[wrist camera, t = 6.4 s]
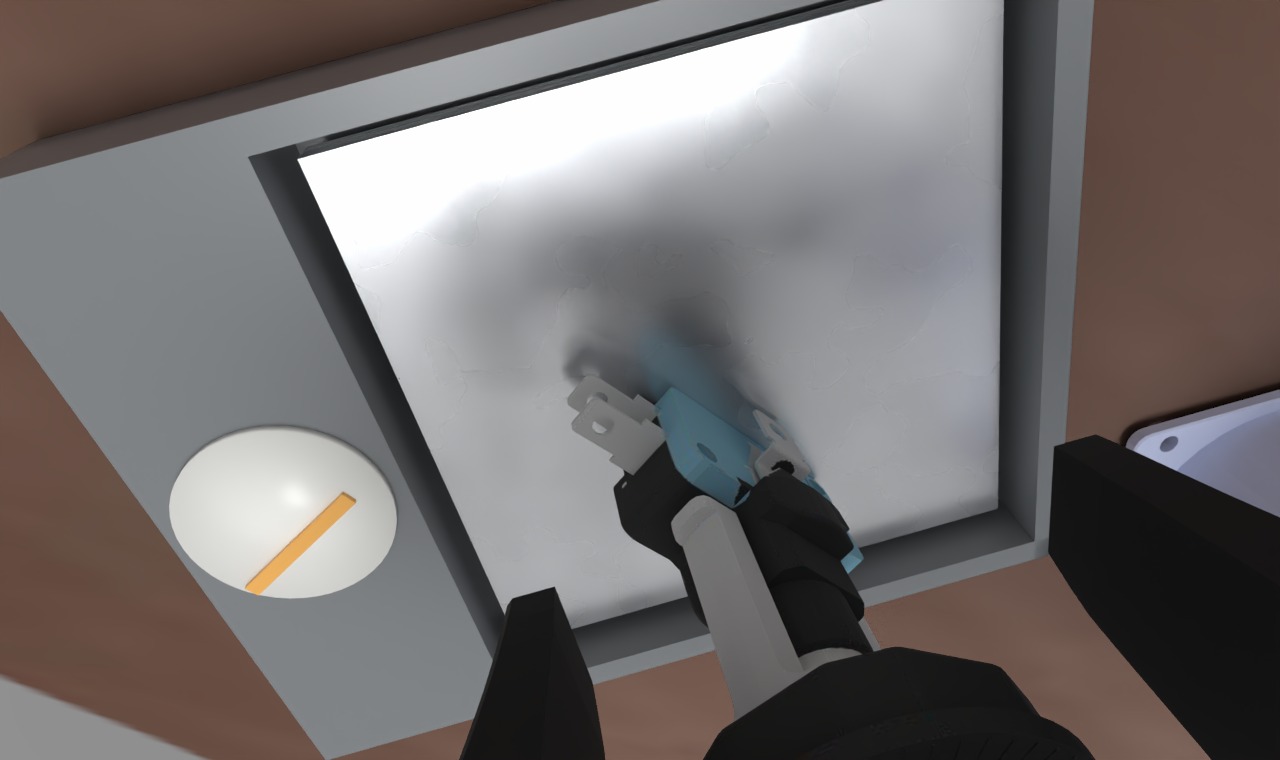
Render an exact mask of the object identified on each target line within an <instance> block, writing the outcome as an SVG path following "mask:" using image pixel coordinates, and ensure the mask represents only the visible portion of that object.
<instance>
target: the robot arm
mask: <svg viewBox="0 0 1280 760" xmlns="http://www.w3.org/2000/svg"><path fill="white" fill-rule="evenodd" d="M1048 553H1049V554H1050V556H1051V558H1052V559H1053V561H1054V562H1055V564H1056V566H1057V567H1058V569H1059V570H1060V572H1061V573H1062V575H1063V577H1064V578H1065V580H1066V581H1067V583H1068V584H1069V586H1070V588H1071V589H1072V591H1073V592H1074V593H1075V595H1076V596H1077V598H1078V599H1079V601H1080V602H1081V604H1082V605H1083V607H1084V608H1085V610H1086V611H1087V613H1088V614H1089V615H1090V617H1091V618H1092V619H1093V620H1094V622H1095V623H1096V624H1097V625H1098V626H1099V628H1100V629H1101V630H1102V631H1103V632H1104V634H1105V635H1106V636H1107V637H1108V638H1109V640H1110V641H1111V642H1112V643H1113V644H1114V646H1115V647H1116V648H1117V649H1118V650H1119V652H1120V653H1121V654H1122V655H1123V656H1124V657H1125V659H1126V660H1127V661H1128V662H1129V663H1130V665H1131V666H1132V667H1133V668H1134V669H1135V670H1136V672H1137V673H1138V674H1139V675H1140V676H1141V677H1142V679H1143V680H1144V681H1145V682H1146V683H1147V684H1148V686H1149V687H1150V688H1151V689H1152V690H1153V691H1154V693H1155V694H1156V695H1157V696H1158V697H1159V698H1160V700H1161V701H1162V702H1163V703H1164V704H1165V705H1166V707H1167V708H1168V709H1169V710H1170V711H1171V713H1172V714H1173V715H1174V716H1175V717H1176V718H1177V720H1178V721H1179V722H1180V723H1181V724H1182V725H1183V727H1184V728H1185V729H1186V730H1187V731H1188V732H1189V734H1190V735H1191V736H1192V737H1193V738H1194V739H1195V741H1196V742H1197V743H1198V744H1199V745H1200V746H1201V748H1202V749H1203V750H1204V751H1205V752H1206V753H1207V755H1208V756H1209V757H1210V758H1211V760H1280V389H1279V390H1276V391H1272V392H1269V393H1265V394H1262V395H1258V396H1255V397H1251V398H1247V399H1244V400H1240V401H1237V402H1233V403H1230V404H1226V405H1223V406H1219V407H1216V408H1212V409H1208V410H1205V411H1201V412H1198V413H1194V414H1191V415H1187V416H1184V417H1180V418H1177V419H1173V420H1169V421H1166V422H1162V423H1159V424H1155V425H1152V426H1148V427H1145V428H1142V429H1140V430H1137V431H1136V432H1135V433H1134V434H1132V435H1131V437H1130V438H1129V439H1128V441H1127V444H1126V447H1124V446H1121V445H1119V444H1117V443H1115V442H1112V441H1110V440H1108V439H1105V438H1103V437H1101V436H1098V435H1092V436H1089V437H1085V438H1082V439H1078V440H1074V441H1071V442H1067V443H1064V444H1060V445H1057V446H1054V453H1053V471H1052V489H1051V507H1050V525H1049V543H1048ZM459 760H605V752H604V746H603V740H602V734H601V728H600V722H599V716H598V711H597V705H596V699H595V694H594V688H593V682H592V679H591V677H590V674H589V672H588V669H587V666H586V664H585V661H584V659H583V656H582V654H581V651H580V649H579V646H578V644H577V641H576V639H575V636H574V634H573V631H572V629H571V626H570V624H569V621H568V618H567V616H566V613H565V611H564V608H563V606H562V603H561V601H560V598H559V596H558V593H557V591H556V588H555V586H554V587H551V588H547V589H544V590H540V591H537V592H533V593H530V594H526V595H522V596H519V597H515V598H512V600H511V601H510V603H509V604H508V605H507V608H506V612H505V617H504V621H503V625H502V629H501V633H500V637H499V640H498V644H497V648H496V651H495V655H494V658H493V662H492V665H491V668H490V671H489V675H488V678H487V681H486V684H485V688H484V691H483V694H482V697H481V700H480V702H479V705H478V708H477V711H476V714H475V717H474V720H473V723H472V726H471V729H470V731H469V734H468V737H467V740H466V743H465V746H464V748H463V751H462V754H461V756H460V759H459Z"/></svg>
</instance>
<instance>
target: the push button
mask: <svg viewBox="0 0 1280 760" xmlns="http://www.w3.org/2000/svg"><path fill="white" fill-rule="evenodd" d="M595 392H601V393H604V394H605V395H606V396H607V398H608V400H607V402H605V401H603V400H602V399H600V398H599V397H598V398H592V399H591V400H590V401H589V403H588V404H587V399H588V397H589V396H590V395H591V394H593V393H595ZM567 402H568V406H570V407H572V408H573V409H575V410H576V411H578V412H580V413H579V414H578V415H577V416H576V418H575V419H574V420H573V421H572V422H571V425H572V430H573V431H574V432H576V433H578V434H579V435H581V436H583V437H584V438H586V439H588V440H589V441H591V442H593V443H594V444H596V445H598V446H599V447H601V448H603V449H604V450H606V451H608V452H609V453H611V454H612V456H611V458H610V459H609V461H610V462H612V463H613V464H615V465H617V466H618V467H620V468H622V469H623V471H624V476H623V477H622V478H621V479H620V480H619V481H618V482H617V484H616V485H615V486H614V487H613V491H614V496H615V500H616V505H617V509H618V513H619V518H620V522H621V525H622V528H623V529H624V531H625V532H626V533H627V534H628V535H629V536H630V537H631V538H632V539H633V540H635V541H636V542H638V543H640V544H642V545H643V546H645V547H647V548H649V549H651V550H652V551H654V552H656V553H658V554H660V555H661V556H663V557H665V558H667V559H669V560H670V561H671V562H672V563H673V564H674V565H675V566H676V567H677V568H678V569H679V570H680V573H681V576H682V579H683V583H684V586H685V589H686V592H687V595H688V598H689V601H690V604H691V606H692V609H693V611H694V613H695V614H696V616H697V617H698V618H699V620H700V621H701V622H702V623H703V624H704V625H705V626H706V627H707V628H709V630H710V633H711V637H712V640H713V643H714V646H715V649H716V652H717V655H718V658H719V662H720V665H721V668H722V671H723V674H724V677H725V680H726V684H727V687H728V690H729V693H730V696H731V699H732V702H733V707H734V713H735V715H734V722H733V723H731V724H730V725H728V726H727V727H725V728H724V729H723V730H722V731H721V732H720V733H719V734H718V736H717V737H716V739H715V740H714V742H713V744H712V745H711V747H710V749H709V750H708V752H707V754H706V755H705V757H704V759H703V760H1095V758H1094V757H1093V756H1092V754H1091V753H1090V752H1089V750H1088V749H1087V748H1086V747H1085V745H1084V744H1083V743H1082V742H1081V741H1080V740H1079V738H1077V737H1076V736H1075V735H1074V734H1072V733H1071V732H1070V731H1069V730H1067V729H1066V728H1064V727H1062V726H1060V725H1059V724H1057V723H1055V722H1053V721H1051V720H1048V719H1046V718H1043V717H1040V715H1039V714H1038V713H1037V711H1036V710H1035V708H1034V707H1033V705H1032V704H1031V703H1030V701H1029V700H1028V699H1027V697H1026V696H1025V695H1024V694H1023V693H1022V691H1021V690H1020V689H1019V688H1018V687H1017V686H1016V684H1015V683H1014V682H1013V681H1012V680H1011V678H1010V677H1009V676H1008V675H1007V674H1006V672H1005V671H1004V670H1003V669H1001V668H1000V667H998V666H996V665H993V664H989V663H984V662H979V661H973V660H968V659H963V658H957V657H952V656H947V655H941V654H936V653H931V652H925V651H920V650H915V649H909V648H904V647H891V648H886V649H881V648H880V646H879V644H878V642H877V640H876V639H875V637H874V635H873V633H872V631H871V630H870V628H869V626H868V624H867V622H866V620H865V619H864V617H863V616H864V602H863V600H862V598H861V596H860V595H859V593H858V591H857V589H856V588H855V586H854V584H853V582H852V580H851V579H850V577H849V575H848V573H849V572H850V571H851V570H853V569H854V568H855V567H856V566H857V565H858V564H859V563H860V562H861V561H862V560H863V559H864V558H863V556H862V553H861V552H860V550H859V549H858V547H857V545H856V544H855V542H854V540H853V539H852V537H851V535H850V534H849V532H848V530H849V527H848V525H847V524H846V522H845V520H844V519H843V517H842V516H841V514H840V512H839V511H838V509H837V508H836V507H835V506H834V505H833V504H832V501H831V499H830V498H829V496H828V494H827V493H826V492H825V490H824V489H823V488H822V487H821V486H820V485H819V484H818V483H817V482H816V481H815V480H813V479H812V478H811V477H809V476H808V475H809V473H810V472H811V468H810V467H809V466H808V465H807V464H805V463H804V462H805V461H806V460H805V458H804V457H803V455H802V453H801V452H800V450H799V448H798V447H797V445H796V443H795V442H794V440H793V438H792V437H791V435H790V434H789V433H788V432H787V431H786V430H785V429H784V428H783V427H782V426H780V425H779V424H778V423H776V422H775V421H773V420H772V419H770V418H769V417H768V416H766V415H765V414H763V413H762V412H760V411H759V410H754V411H753V412H752V413H753V415H754V417H755V419H756V421H757V422H758V424H759V426H760V428H761V430H762V431H763V433H764V435H765V437H766V438H767V439H768V440H769V441H771V443H770V444H769V447H768V449H765V448H764V447H762V446H761V445H759V444H758V443H756V442H755V441H753V440H752V439H750V438H749V437H747V436H746V435H744V434H743V433H741V432H740V431H739V430H737V429H736V428H734V427H733V426H731V425H730V424H728V423H727V422H725V421H724V420H722V419H721V418H719V417H718V416H716V415H715V414H713V413H712V412H710V411H709V410H707V409H706V408H705V407H703V406H702V405H700V404H699V403H697V402H696V401H694V400H693V399H691V398H690V397H688V396H687V395H685V394H684V393H682V392H681V391H679V390H677V389H676V388H674V387H670V389H669V390H668V391H667V392H666V393H665V394H664V395H663V396H662V397H661V399H660V400H659V401H658V402H657V403H656V404H655V405H653V404H652V403H650V402H649V401H647V400H646V399H644V398H643V397H641V396H640V395H637V396H636V397H635V398H634V399H633V400H632V399H631V398H629V397H628V396H626V395H625V394H623V393H622V392H620V391H619V390H617V389H615V388H614V387H612V386H611V385H609V384H608V383H606V382H605V381H603V380H602V379H600V378H598V377H597V376H595V375H594V374H589V375H586V376H585V377H584V379H583V380H582V381H581V382H580V383H579V384H578V386H577V387H576V388H575V389H574V390H573V392H572V393H571V394H570V395H569V396H568V397H567ZM593 422H596V423H598V424H599V425H601V426H602V427H604V428H606V429H607V430H606V431H605V432H604V433H598V432H596V431H595V430H594V429H593V428H592V425H593ZM771 428H773V429H774V430H775V431H776V432H777V433H778V434H779V435H780V436H781V437H782V438H783V439H782V438H781V437H779V436H778V435H777V434H776V433H775V432H774V431H773V430H772V429H771Z"/></svg>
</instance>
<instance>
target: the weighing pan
mask: <svg viewBox="0 0 1280 760" xmlns="http://www.w3.org/2000/svg"><path fill="white" fill-rule="evenodd" d="M1003 20H1004V0H847V1H844V2H840V3H836V4H833V5H829V6H825V7H822V8H818V9H814V10H810V11H807V12H803V13H799V14H796V15H792V16H788V17H785V18H781V19H777V20H774V21H770V22H766V23H762V24H759V25H755V26H751V27H748V28H744V29H740V30H737V31H733V32H729V33H726V34H722V35H718V36H714V37H711V38H707V39H703V40H700V41H696V42H692V43H689V44H685V45H681V46H678V47H674V48H670V49H667V50H663V51H659V52H655V53H652V54H648V55H644V56H641V57H637V58H633V59H630V60H626V61H622V62H619V63H615V64H611V65H607V66H604V67H600V68H596V69H593V70H589V71H585V72H582V73H578V74H574V75H571V76H567V77H563V78H560V79H556V80H552V81H548V82H545V83H541V84H537V85H534V86H530V87H526V88H523V89H519V90H515V91H512V92H508V93H504V94H500V95H497V96H493V97H489V98H486V99H482V100H478V101H475V102H471V103H467V104H464V105H460V106H456V107H452V108H449V109H445V110H441V111H438V112H434V113H430V114H427V115H423V116H419V117H416V118H412V119H408V120H405V121H401V122H397V123H393V124H390V125H386V126H382V127H379V128H375V129H371V130H368V131H364V132H360V133H357V134H353V135H349V136H345V137H342V138H338V139H334V140H331V141H327V142H323V143H320V144H316V145H312V146H309V147H307V148H306V149H305V150H304V152H303V153H302V154H301V156H300V157H299V158H298V161H299V163H300V166H301V168H302V170H303V172H304V174H305V177H306V179H307V181H308V183H309V185H310V188H311V190H312V192H313V194H314V196H315V199H316V201H317V203H318V205H319V207H320V210H321V212H322V214H323V216H324V218H325V221H326V223H327V225H328V227H329V229H330V232H331V234H332V236H333V238H334V240H335V243H336V245H337V247H338V249H339V251H340V254H341V256H342V258H343V260H344V262H345V265H346V267H347V269H348V271H349V273H350V276H351V278H352V280H353V282H354V284H355V287H356V289H357V291H358V293H359V295H360V298H361V300H362V302H363V304H364V306H365V309H366V311H367V313H368V315H369V317H370V320H371V322H372V324H373V326H374V328H375V331H376V333H377V335H378V337H379V339H380V342H381V344H382V346H383V348H384V350H385V353H386V355H387V357H388V359H389V361H390V364H391V366H392V368H393V370H394V372H395V375H396V377H397V379H398V381H399V383H400V386H401V388H402V390H403V392H404V394H405V397H406V399H407V401H408V403H409V405H410V408H411V410H412V412H413V414H414V416H415V419H416V421H417V423H418V425H419V427H420V430H421V432H422V434H423V436H424V438H425V441H426V443H427V445H428V447H429V449H430V452H431V454H432V456H433V458H434V460H435V463H436V465H437V467H438V469H439V471H440V474H441V476H442V478H443V480H444V482H445V485H446V487H447V489H448V491H449V493H450V496H451V498H452V500H453V502H454V504H455V507H456V509H457V511H458V513H459V515H460V518H461V520H462V522H463V524H464V526H465V529H466V531H467V533H468V535H469V537H470V540H471V542H472V544H473V546H474V548H475V551H476V553H477V555H478V557H479V559H480V562H481V564H482V566H483V568H484V570H485V573H486V575H487V577H488V579H489V581H490V584H491V586H492V588H493V590H494V592H495V595H496V597H497V599H498V601H499V603H500V606H501V608H502V610H503V612H504V614H505V612H506V608H507V605H508V604H509V603H510V601H511V600H512V598H515V597H519V596H522V595H526V594H530V593H533V592H537V591H540V590H544V589H547V588H551V587H554V586H555V588H556V591H557V593H558V596H559V598H560V601H561V603H562V606H563V608H564V611H565V613H566V616H567V618H568V621H569V624H570V626H571V629H574V628H577V627H581V626H584V625H588V624H592V623H595V622H599V621H602V620H606V619H609V618H613V617H616V616H620V615H623V614H627V613H630V612H634V611H638V610H641V609H645V608H648V607H652V606H655V605H659V604H662V603H666V602H669V601H673V600H676V599H680V598H684V597H687V596H688V595H687V592H686V589H685V586H684V583H683V579H682V576H681V573H680V570H679V569H678V568H677V567H676V566H675V565H674V564H673V563H672V562H671V561H670V560H669V559H667V558H665V557H663V556H661V555H660V554H658V553H656V552H654V551H652V550H651V549H649V548H647V547H645V546H643V545H642V544H640V543H638V542H636V541H635V540H633V539H632V538H631V537H630V536H629V535H628V534H627V533H626V532H625V531H624V529H623V528H622V525H621V522H620V518H619V513H618V509H617V505H616V500H615V496H614V491H613V487H614V486H615V485H616V484H617V482H618V481H619V480H620V479H621V478H622V477H623V476H624V471H623V469H622V468H620V467H618V466H617V465H615V464H613V463H612V462H610V461H609V459H610V458H611V456H612V454H611V453H609V452H608V451H606V450H604V449H603V448H601V447H599V446H598V445H596V444H594V443H593V442H591V441H589V440H588V439H586V438H584V437H583V436H581V435H579V434H578V433H576V432H574V431H573V430H572V425H571V422H572V421H573V420H574V419H575V418H576V416H577V415H578V414H579V413H580V412H578V411H576V410H575V409H573V408H572V407H570V406H568V402H567V397H568V396H569V395H570V394H571V393H572V392H573V390H574V389H575V388H576V387H577V386H578V384H579V383H580V382H581V381H582V380H583V379H584V377H585V376H586V375H589V374H594V375H595V376H597V377H598V378H600V379H602V380H603V381H605V382H606V383H608V384H609V385H611V386H612V387H614V388H615V389H617V390H619V391H620V392H622V393H623V394H625V395H626V396H628V397H629V398H631V399H632V400H633V399H634V398H635V397H636V396H637V395H640V396H641V397H643V398H644V399H646V400H647V401H649V402H650V403H652V404H653V405H655V404H656V403H657V402H658V401H659V400H660V399H661V397H662V396H663V395H664V394H665V393H666V392H667V391H668V390H669V389H670V387H674V388H676V389H677V390H679V391H681V392H682V393H684V394H685V395H687V396H688V397H690V398H691V399H693V400H694V401H696V402H697V403H699V404H700V405H702V406H703V407H705V408H706V409H707V410H709V411H710V412H712V413H713V414H715V415H716V416H718V417H719V418H721V419H722V420H724V421H725V422H727V423H728V424H730V425H731V426H733V427H734V428H736V429H737V430H739V431H740V432H741V433H743V434H744V435H746V436H747V437H749V438H750V439H752V440H753V441H755V442H756V443H758V444H759V445H761V446H762V447H764V448H765V449H768V447H769V444H770V443H771V441H769V440H768V439H767V438H766V437H765V435H764V433H763V431H762V430H761V428H760V426H759V424H758V422H757V421H756V419H755V417H754V415H753V413H752V412H753V411H754V410H759V411H760V412H762V413H763V414H765V415H766V416H768V417H769V418H770V419H772V420H773V421H775V422H776V423H778V424H779V425H780V426H782V427H783V428H784V429H785V430H786V431H787V432H788V433H789V434H790V435H791V437H792V438H793V440H794V442H795V443H796V445H797V447H798V448H799V450H800V452H801V453H802V455H803V457H804V458H805V460H806V461H805V462H804V463H805V464H807V465H808V466H809V467H810V468H811V472H810V473H809V475H808V476H809V477H811V478H812V479H813V480H815V481H816V482H817V483H818V484H819V485H820V486H821V487H822V488H823V489H824V490H825V492H826V493H827V494H828V496H829V498H830V499H831V501H832V504H833V505H834V506H835V507H836V508H837V509H838V511H839V512H840V514H841V516H842V517H843V519H844V520H845V522H846V524H847V525H848V527H849V530H848V532H849V534H850V535H851V537H852V539H853V540H854V542H855V544H856V545H857V547H858V548H860V547H864V546H868V545H871V544H875V543H878V542H882V541H885V540H889V539H892V538H896V537H899V536H903V535H906V534H910V533H913V532H917V531H921V530H924V529H928V528H931V527H935V526H938V525H942V524H945V523H949V522H952V521H956V520H959V519H963V518H967V517H970V516H974V515H977V514H981V513H984V512H988V511H991V510H995V509H998V461H999V373H1000V285H1001V197H1002V109H1003ZM598 397H599V398H600V399H602V400H603V401H605V402H607V400H608V398H607V396H606V395H605V394H604V393H601V392H595V393H593V394H591V395H590V396H589V397H588V399H587V404H588V403H589V401H590V400H591V399H592V398H598ZM592 428H593V429H594V430H595V431H596V432H598V433H604V432H605V431H606V430H607V429H606V428H604V427H602V426H601V425H599V424H598V423H596V422H593V425H592ZM771 429H772V430H773V431H774V432H775V433H776V434H777V435H778V436H779V437H781V436H780V435H779V434H778V433H777V432H776V431H775V430H774V429H773V428H771ZM781 438H782V437H781ZM782 439H783V438H782Z"/></svg>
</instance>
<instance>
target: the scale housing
mask: <svg viewBox="0 0 1280 760" xmlns="http://www.w3.org/2000/svg"><path fill="white" fill-rule="evenodd" d="M844 1H847V0H557V1H553V2H550V3H546V4H542V5H539V6H535V7H531V8H527V9H524V10H520V11H516V12H513V13H509V14H505V15H501V16H498V17H494V18H490V19H487V20H483V21H479V22H475V23H472V24H468V25H464V26H461V27H457V28H453V29H449V30H446V31H442V32H438V33H435V34H431V35H427V36H423V37H420V38H416V39H412V40H409V41H405V42H401V43H397V44H394V45H390V46H386V47H383V48H379V49H375V50H371V51H368V52H364V53H360V54H357V55H353V56H349V57H345V58H342V59H338V60H334V61H331V62H327V63H323V64H319V65H316V66H312V67H308V68H305V69H301V70H297V71H293V72H290V73H286V74H282V75H279V76H275V77H271V78H267V79H264V80H260V81H256V82H253V83H249V84H245V85H241V86H238V87H234V88H230V89H227V90H223V91H219V92H215V93H212V94H208V95H204V96H201V97H197V98H193V99H189V100H186V101H182V102H178V103H175V104H171V105H167V106H164V107H160V108H156V109H152V110H149V111H145V112H141V113H138V114H134V115H130V116H126V117H123V118H119V119H115V120H112V121H108V122H104V123H100V124H97V125H93V126H89V127H86V128H82V129H78V130H74V131H71V132H67V133H63V134H60V135H56V136H52V137H48V138H45V139H41V140H37V141H35V142H33V143H31V144H29V145H27V146H25V147H23V148H21V149H19V150H17V151H15V152H13V153H12V154H10V155H8V156H6V157H4V158H2V159H0V310H1V312H2V313H3V314H4V316H5V317H6V319H7V320H8V321H9V323H10V324H11V325H12V327H13V328H14V330H15V331H16V332H17V334H18V335H19V337H20V338H21V339H22V341H23V342H24V343H25V345H26V346H27V348H28V349H29V350H30V352H31V353H32V355H33V356H34V357H35V359H36V360H37V361H38V363H39V364H40V366H41V367H42V368H43V370H44V371H45V372H46V374H47V375H48V377H49V378H50V379H51V381H52V382H53V384H54V385H55V386H56V388H57V389H58V390H59V392H60V393H61V395H62V396H63V397H64V399H65V400H66V402H67V403H68V404H69V406H70V407H71V408H72V410H73V411H74V413H75V414H76V415H77V417H78V418H79V420H80V421H81V422H82V424H83V425H84V426H85V428H86V429H87V431H88V432H89V433H90V435H91V436H92V437H93V439H94V440H95V442H96V443H97V444H98V446H99V447H100V449H101V450H102V451H103V453H104V454H105V455H106V457H107V458H108V460H109V461H110V462H111V464H112V465H113V467H114V468H115V469H116V471H117V472H118V473H119V475H120V476H121V478H122V479H123V480H124V482H125V483H126V484H127V486H128V487H129V489H130V490H131V491H132V493H133V494H134V496H135V497H136V498H137V500H138V501H139V502H140V504H141V505H142V507H143V508H144V509H145V511H146V512H147V514H148V515H149V516H150V518H151V519H152V520H153V522H154V523H155V525H156V526H157V527H158V529H159V530H160V532H161V533H162V534H163V536H164V537H165V538H166V540H167V541H168V543H169V544H170V545H171V547H172V548H173V549H174V551H175V552H176V554H177V555H178V556H179V558H180V559H181V561H182V562H183V563H184V565H185V566H186V567H187V569H188V570H189V572H190V573H191V574H192V576H193V577H194V579H195V580H196V581H197V583H198V584H199V585H200V587H201V588H202V590H203V591H204V592H205V594H206V595H207V597H208V598H209V599H210V601H211V602H212V603H213V605H214V606H215V608H216V609H217V610H218V612H219V613H220V614H221V616H222V617H223V619H224V620H225V621H226V623H227V624H228V626H229V627H230V628H231V630H232V631H233V632H234V634H235V635H236V637H237V638H238V639H239V641H240V642H241V644H242V645H243V646H244V648H245V649H246V650H247V652H248V653H249V655H250V656H251V657H252V659H253V660H254V661H255V663H256V664H257V666H258V667H259V668H260V670H261V671H262V673H263V674H264V675H265V677H266V678H267V679H268V681H269V682H270V684H271V685H272V686H273V688H274V689H275V691H276V692H277V693H278V695H279V696H280V697H281V699H282V700H283V702H284V703H285V704H286V706H287V707H288V709H289V710H290V711H291V713H292V714H293V715H294V717H295V718H296V720H297V721H298V722H299V724H300V725H301V726H302V728H303V729H304V731H305V732H306V733H307V735H308V736H309V738H310V739H311V740H312V742H313V743H314V744H315V746H316V747H317V749H318V750H319V751H320V753H321V754H322V756H323V757H324V758H325V760H330V759H333V758H337V757H340V756H344V755H347V754H351V753H354V752H358V751H361V750H365V749H368V748H372V747H375V746H379V745H382V744H386V743H389V742H393V741H396V740H400V739H404V738H407V737H411V736H414V735H418V734H421V733H425V732H428V731H432V730H435V729H439V728H442V727H446V726H449V725H453V724H456V723H460V722H463V721H467V720H470V719H474V717H475V714H476V711H477V708H478V705H479V702H480V700H481V697H482V694H483V691H484V688H485V684H486V681H487V678H488V675H489V671H490V668H491V665H492V662H493V658H494V655H495V651H496V648H497V644H498V640H499V637H500V633H501V629H502V625H503V621H504V617H505V614H504V612H503V610H502V608H501V606H500V603H499V601H498V599H497V597H496V595H495V592H494V590H493V588H492V586H491V584H490V581H489V579H488V577H487V575H486V573H485V570H484V568H483V566H482V564H481V562H480V559H479V557H478V555H477V553H476V551H475V548H474V546H473V544H472V542H471V540H470V537H469V535H468V533H467V531H466V529H465V526H464V524H463V522H462V520H461V518H460V515H459V513H458V511H457V509H456V507H455V504H454V502H453V500H452V498H451V496H450V493H449V491H448V489H447V487H446V485H445V482H444V480H443V478H442V476H441V474H440V471H439V469H438V467H437V465H436V463H435V460H434V458H433V456H432V454H431V452H430V449H429V447H428V445H427V443H426V441H425V438H424V436H423V434H422V432H421V430H420V427H419V425H418V423H417V421H416V419H415V416H414V414H413V412H412V410H411V408H410V405H409V403H408V401H407V399H406V397H405V394H404V392H403V390H402V388H401V386H400V383H399V381H398V379H397V377H396V375H395V372H394V370H393V368H392V366H391V364H390V361H389V359H388V357H387V355H386V353H385V350H384V348H383V346H382V344H381V342H380V339H379V337H378V335H377V333H376V331H375V328H374V326H373V324H372V322H371V320H370V317H369V315H368V313H367V311H366V309H365V306H364V304H363V302H362V300H361V298H360V295H359V293H358V291H357V289H356V287H355V284H354V282H353V280H352V278H351V276H350V273H349V271H348V269H347V267H346V265H345V262H344V260H343V258H342V256H341V254H340V251H339V249H338V247H337V245H336V243H335V240H334V238H333V236H332V234H331V232H330V229H329V227H328V225H327V223H326V221H325V218H324V216H323V214H322V212H321V210H320V207H319V205H318V203H317V201H316V199H315V196H314V194H313V192H312V190H311V188H310V185H309V183H308V181H307V179H306V177H305V174H304V172H303V170H302V168H301V166H300V163H299V161H298V158H299V157H300V156H301V154H302V153H303V152H304V150H305V149H306V148H307V147H309V146H312V145H316V144H320V143H323V142H327V141H331V140H334V139H338V138H342V137H345V136H349V135H353V134H357V133H360V132H364V131H368V130H371V129H375V128H379V127H382V126H386V125H390V124H393V123H397V122H401V121H405V120H408V119H412V118H416V117H419V116H423V115H427V114H430V113H434V112H438V111H441V110H445V109H449V108H452V107H456V106H460V105H464V104H467V103H471V102H475V101H478V100H482V99H486V98H489V97H493V96H497V95H500V94H504V93H508V92H512V91H515V90H519V89H523V88H526V87H530V86H534V85H537V84H541V83H545V82H548V81H552V80H556V79H560V78H563V77H567V76H571V75H574V74H578V73H582V72H585V71H589V70H593V69H596V68H600V67H604V66H607V65H611V64H615V63H619V62H622V61H626V60H630V59H633V58H637V57H641V56H644V55H648V54H652V53H655V52H659V51H663V50H667V49H670V48H674V47H678V46H681V45H685V44H689V43H692V42H696V41H700V40H703V39H707V38H711V37H714V36H718V35H722V34H726V33H729V32H733V31H737V30H740V29H744V28H748V27H751V26H755V25H759V24H762V23H766V22H770V21H774V20H777V19H781V18H785V17H788V16H792V15H796V14H799V13H803V12H807V11H810V10H814V9H818V8H822V7H825V6H829V5H833V4H836V3H840V2H844ZM1093 9H1094V0H1004V20H1003V109H1002V197H1001V285H1000V373H999V461H998V509H995V510H991V511H988V512H984V513H981V514H977V515H974V516H970V517H967V518H963V519H959V520H956V521H952V522H949V523H945V524H942V525H938V526H935V527H931V528H928V529H924V530H921V531H917V532H913V533H910V534H906V535H903V536H899V537H896V538H892V539H889V540H885V541H882V542H878V543H875V544H871V545H868V546H864V547H860V548H858V549H859V550H860V552H861V553H862V556H863V558H864V559H863V560H862V561H861V562H860V563H859V564H858V565H857V566H856V567H855V568H854V569H853V570H851V571H850V572H849V573H848V575H849V577H850V579H851V580H852V582H853V584H854V586H855V588H856V589H857V591H858V593H859V595H860V596H861V598H862V600H863V602H864V608H865V607H868V606H872V605H875V604H879V603H882V602H886V601H890V600H893V599H897V598H900V597H904V596H907V595H911V594H914V593H918V592H921V591H925V590H928V589H932V588H935V587H939V586H942V585H946V584H949V583H953V582H956V581H960V580H963V579H967V578H971V577H974V576H978V575H981V574H985V573H988V572H992V571H995V570H999V569H1002V568H1006V567H1009V566H1013V565H1016V564H1020V563H1023V562H1027V561H1030V560H1034V559H1037V558H1041V557H1045V556H1048V555H1050V554H1049V553H1048V543H1049V525H1050V507H1051V489H1052V471H1053V453H1054V446H1057V445H1060V444H1064V443H1065V437H1066V422H1067V407H1068V391H1069V376H1070V361H1071V345H1072V330H1073V315H1074V300H1075V284H1076V269H1077V254H1078V238H1079V223H1080V208H1081V193H1082V177H1083V162H1084V147H1085V131H1086V116H1087V101H1088V86H1089V70H1090V55H1091V40H1092V24H1093ZM572 631H573V634H574V636H575V639H576V641H577V644H578V646H579V649H580V651H581V654H582V656H583V659H584V661H585V664H586V666H587V669H588V672H589V674H590V677H591V679H592V682H593V685H594V684H597V683H601V682H604V681H608V680H611V679H615V678H618V677H622V676H625V675H629V674H632V673H636V672H639V671H643V670H647V669H650V668H654V667H657V666H661V665H664V664H668V663H671V662H675V661H678V660H682V659H685V658H689V657H692V656H696V655H699V654H703V653H706V652H710V651H713V650H716V649H715V646H714V643H713V640H712V637H711V633H710V630H709V628H707V627H706V626H705V625H704V624H703V623H702V622H701V621H700V620H699V618H698V617H697V616H696V614H695V613H694V611H693V609H692V606H691V604H690V601H689V598H688V596H687V597H684V598H680V599H676V600H673V601H669V602H666V603H662V604H659V605H655V606H652V607H648V608H645V609H641V610H638V611H634V612H630V613H627V614H623V615H620V616H616V617H613V618H609V619H606V620H602V621H599V622H595V623H592V624H588V625H584V626H581V627H577V628H574V629H572Z"/></svg>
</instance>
